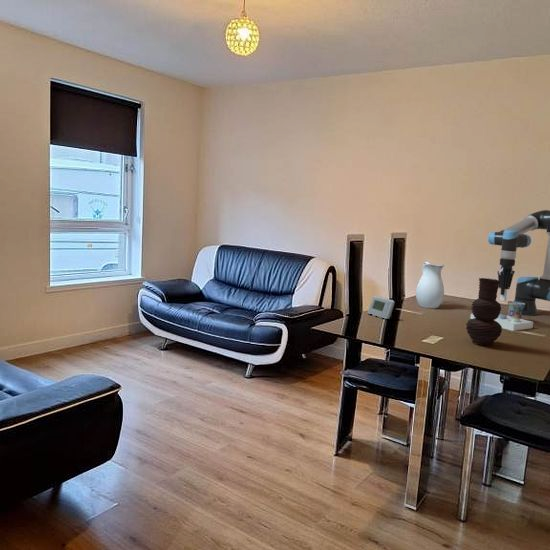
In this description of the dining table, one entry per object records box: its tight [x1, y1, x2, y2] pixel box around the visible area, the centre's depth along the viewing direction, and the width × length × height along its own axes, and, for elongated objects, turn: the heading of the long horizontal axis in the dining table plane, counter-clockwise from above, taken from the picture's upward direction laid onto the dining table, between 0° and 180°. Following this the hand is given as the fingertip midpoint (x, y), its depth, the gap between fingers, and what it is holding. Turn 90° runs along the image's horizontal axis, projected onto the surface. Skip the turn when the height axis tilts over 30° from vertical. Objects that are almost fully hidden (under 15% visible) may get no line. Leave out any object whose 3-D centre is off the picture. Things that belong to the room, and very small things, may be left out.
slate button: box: [498, 314, 507, 319], centre depth 272 cm, size 5×5×4 cm
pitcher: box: [415, 261, 445, 309], centre depth 313 cm, size 24×17×28 cm
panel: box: [469, 313, 534, 332], centre depth 272 cm, size 18×26×4 cm
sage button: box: [510, 318, 520, 323], centre depth 266 cm, size 5×5×4 cm
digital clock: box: [367, 295, 395, 320], centre depth 271 cm, size 16×9×11 cm, turn 21°
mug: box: [506, 300, 525, 319], centre depth 284 cm, size 12×9×11 cm
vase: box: [465, 277, 503, 346], centre depth 225 cm, size 15×15×30 cm
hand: (502, 300), depth 273 cm, fingers closed
